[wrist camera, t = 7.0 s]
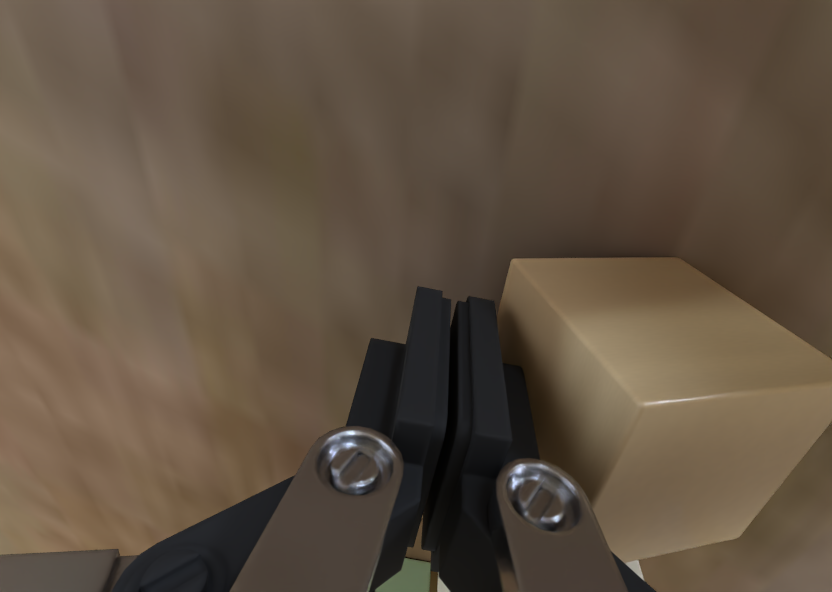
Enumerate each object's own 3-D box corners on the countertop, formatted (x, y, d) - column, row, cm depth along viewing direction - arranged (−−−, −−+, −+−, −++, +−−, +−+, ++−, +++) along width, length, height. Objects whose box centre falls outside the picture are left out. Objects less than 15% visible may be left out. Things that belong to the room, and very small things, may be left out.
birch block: (510, 256, 10) (642, 405, 6) (678, 255, 11) (867, 380, 7) (471, 408, 12) (555, 580, 8) (615, 394, 13) (739, 539, 10)
